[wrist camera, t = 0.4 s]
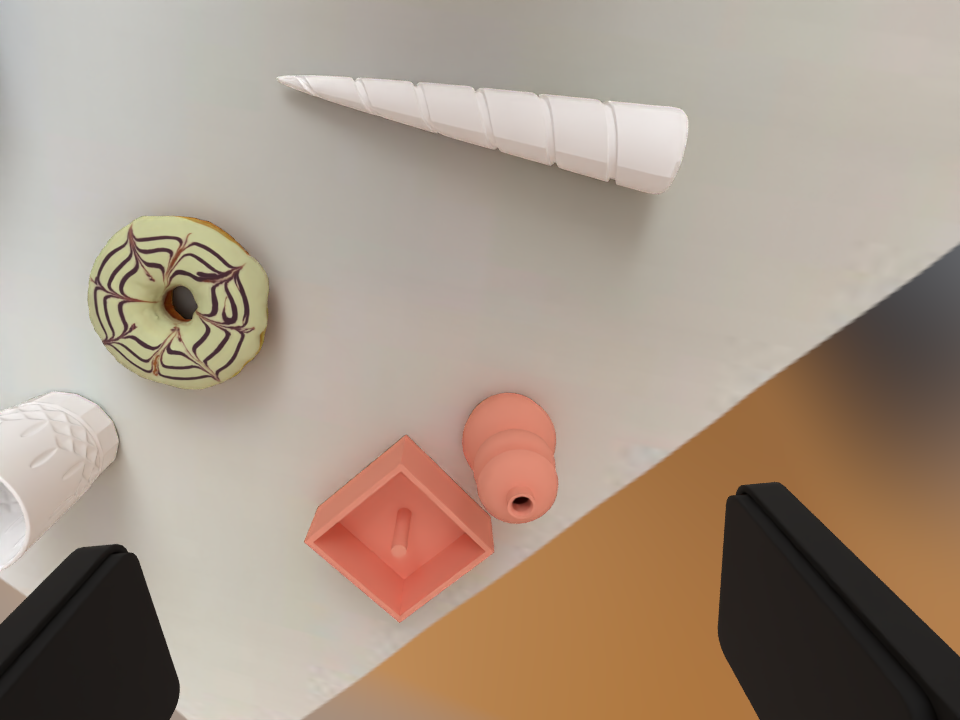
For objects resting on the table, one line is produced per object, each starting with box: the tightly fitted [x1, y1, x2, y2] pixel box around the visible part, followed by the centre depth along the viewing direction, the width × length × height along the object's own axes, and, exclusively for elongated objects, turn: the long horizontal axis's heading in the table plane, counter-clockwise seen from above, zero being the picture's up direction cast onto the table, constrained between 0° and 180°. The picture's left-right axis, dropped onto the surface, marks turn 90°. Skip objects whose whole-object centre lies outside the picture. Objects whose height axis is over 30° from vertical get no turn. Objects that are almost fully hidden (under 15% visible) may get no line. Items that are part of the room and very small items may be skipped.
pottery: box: [304, 393, 558, 623], centre depth 38 cm, size 18×10×10 cm, turn 131°
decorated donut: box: [88, 216, 269, 389], centre depth 36 cm, size 10×11×4 cm
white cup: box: [0, 391, 119, 571], centre depth 35 cm, size 8×8×10 cm
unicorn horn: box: [276, 75, 688, 194], centre depth 32 cm, size 5×24×5 cm, turn 76°
